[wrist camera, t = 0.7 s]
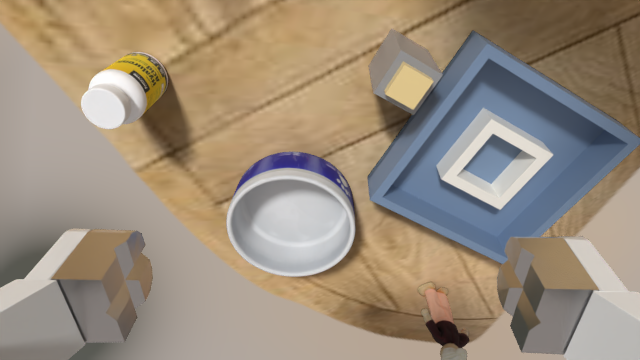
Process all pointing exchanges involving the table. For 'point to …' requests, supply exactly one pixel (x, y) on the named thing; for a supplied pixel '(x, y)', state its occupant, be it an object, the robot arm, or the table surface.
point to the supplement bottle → (124, 90)
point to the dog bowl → (292, 215)
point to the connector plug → (403, 72)
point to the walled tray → (496, 152)
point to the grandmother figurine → (443, 323)
